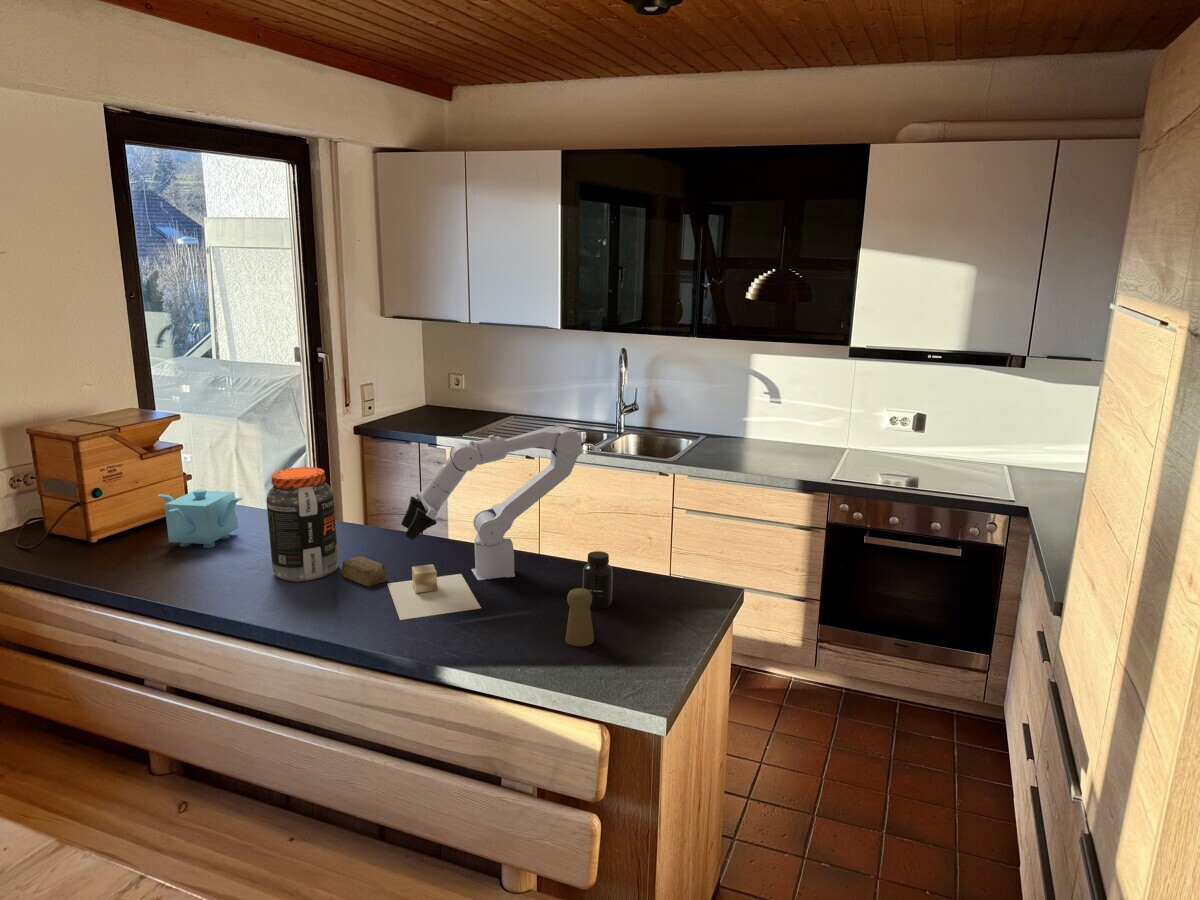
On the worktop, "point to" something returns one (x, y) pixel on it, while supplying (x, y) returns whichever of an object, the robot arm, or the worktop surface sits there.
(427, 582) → the cube
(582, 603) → the wooden peg doll
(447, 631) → the worktop surface
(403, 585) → the mat
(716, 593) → the worktop surface
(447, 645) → the worktop surface
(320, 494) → the supplement tub
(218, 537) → the teakettle
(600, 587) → the supplement bottle
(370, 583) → the stone block
